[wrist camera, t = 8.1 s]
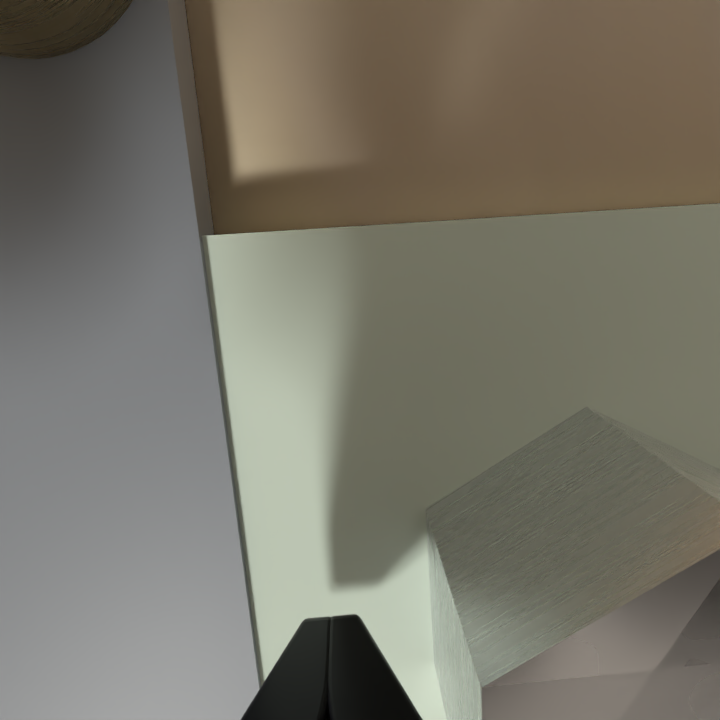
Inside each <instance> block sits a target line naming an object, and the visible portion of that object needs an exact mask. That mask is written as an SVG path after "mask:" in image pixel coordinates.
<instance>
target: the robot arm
mask: <svg viewBox="0 0 720 720" xmlns="http://www.w3.org/2000/svg"><path fill="white" fill-rule="evenodd" d="M241 720H423V719H422V718H421V716H420V715H419V713H418V711H417V710H416V708H415V706H414V705H413V703H412V701H411V700H410V698H409V696H408V695H407V693H406V691H405V690H404V688H403V687H402V685H401V683H400V682H399V680H398V678H397V677H396V675H395V673H394V672H393V670H392V668H391V667H390V665H389V663H388V662H387V660H386V659H385V657H384V655H383V654H382V652H381V650H380V649H379V647H378V645H377V644H376V642H375V640H374V639H373V637H372V635H371V634H370V632H369V631H368V629H367V627H366V626H365V624H364V622H363V621H362V619H361V618H360V617H359V616H358V615H357V614H349V615H338V616H332V617H330V616H326V617H314V618H306V619H304V620H303V621H302V622H301V624H300V626H299V627H298V629H297V630H296V632H295V634H294V635H293V637H292V638H291V640H290V641H289V643H288V645H287V646H286V648H285V649H284V651H283V653H282V654H281V656H280V657H279V659H278V661H277V662H276V664H275V665H274V667H273V669H272V670H271V672H270V673H269V675H268V677H267V678H266V680H265V681H264V683H263V685H262V686H261V688H260V689H259V691H258V692H257V694H256V696H255V697H254V699H253V700H252V702H251V704H250V705H249V707H248V708H247V710H246V712H245V713H244V715H243V716H242V718H241Z"/></svg>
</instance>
